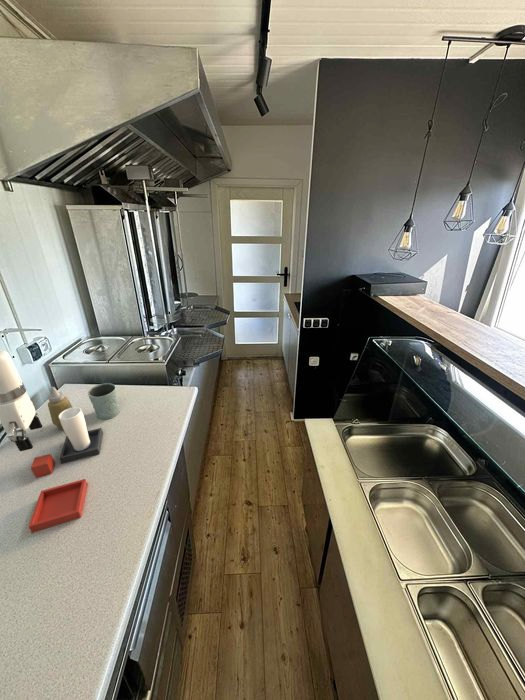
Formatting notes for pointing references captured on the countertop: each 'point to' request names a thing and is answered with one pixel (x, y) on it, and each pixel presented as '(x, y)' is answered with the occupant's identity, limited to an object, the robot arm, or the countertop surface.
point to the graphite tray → (71, 454)
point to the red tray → (58, 505)
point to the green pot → (104, 400)
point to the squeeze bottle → (57, 406)
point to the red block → (42, 465)
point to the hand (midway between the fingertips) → (31, 438)
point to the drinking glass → (75, 428)
